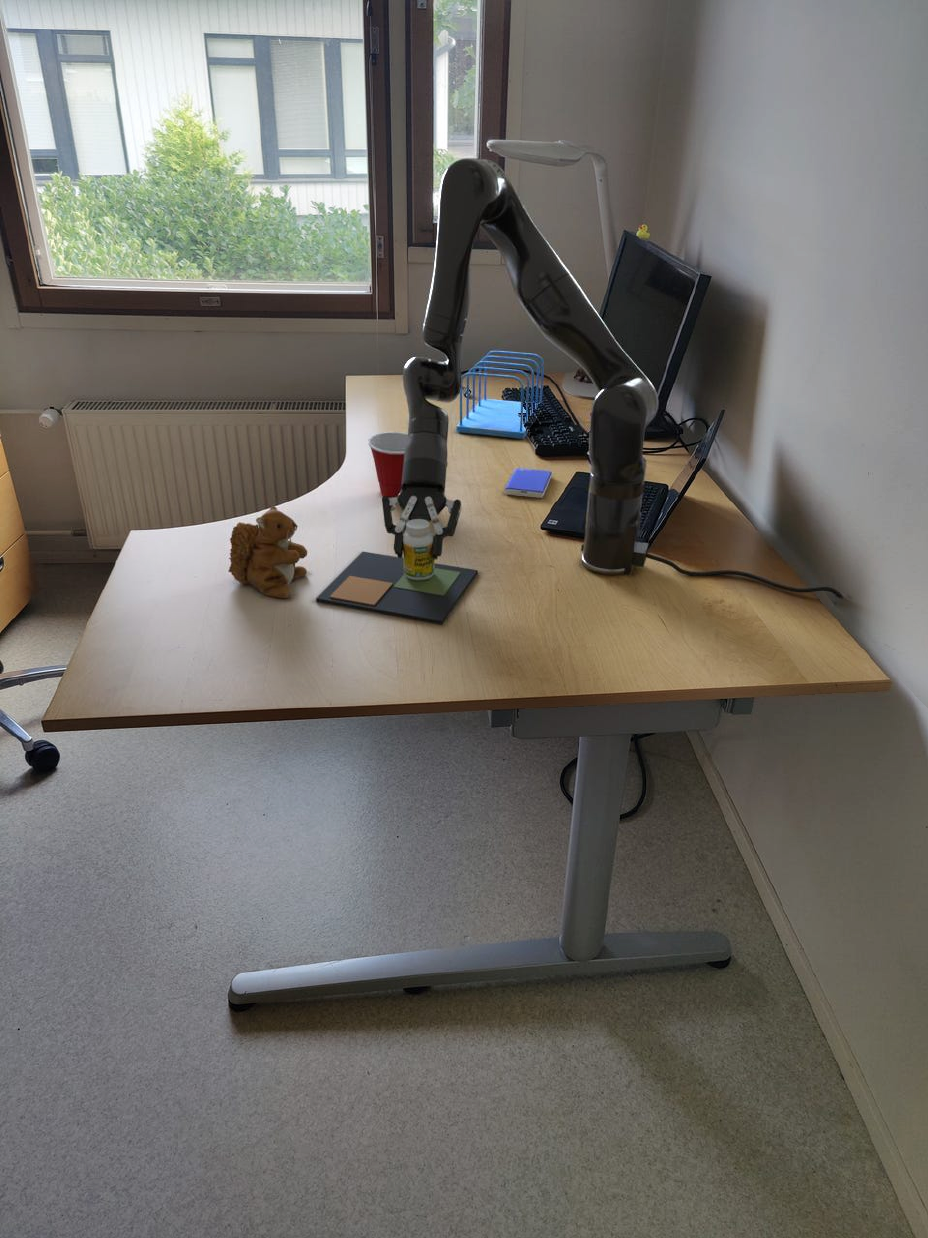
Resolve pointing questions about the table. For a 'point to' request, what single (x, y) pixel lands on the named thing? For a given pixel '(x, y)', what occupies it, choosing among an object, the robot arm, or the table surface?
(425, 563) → the supplement bottle
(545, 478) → the hard drive
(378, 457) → the plastic cup
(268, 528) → the stuffed squirrel
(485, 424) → the file sorter
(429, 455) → the robot arm
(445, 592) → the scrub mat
